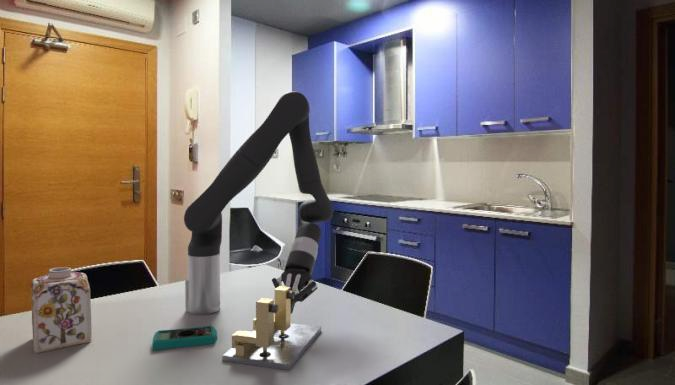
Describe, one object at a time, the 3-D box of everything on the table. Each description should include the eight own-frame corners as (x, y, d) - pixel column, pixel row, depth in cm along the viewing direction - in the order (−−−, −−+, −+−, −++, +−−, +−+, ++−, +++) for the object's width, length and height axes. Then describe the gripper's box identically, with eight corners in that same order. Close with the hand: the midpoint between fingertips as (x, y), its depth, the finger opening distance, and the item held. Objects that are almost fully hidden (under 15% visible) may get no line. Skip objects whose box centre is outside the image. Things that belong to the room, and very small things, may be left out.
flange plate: (222, 360, 95) (222, 355, 95) (265, 324, 117) (265, 320, 117) (289, 370, 91) (289, 364, 91) (321, 331, 113) (321, 326, 113)
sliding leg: (253, 334, 106) (252, 287, 105) (258, 330, 109) (258, 284, 108) (291, 339, 103) (291, 290, 102) (295, 334, 106) (295, 287, 105)
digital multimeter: (217, 345, 104) (217, 334, 104) (151, 353, 100) (151, 340, 99) (216, 334, 111) (216, 323, 111) (154, 341, 107) (154, 329, 106)
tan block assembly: (229, 355, 95) (229, 300, 94) (270, 321, 116) (270, 277, 115) (272, 361, 92) (272, 305, 92) (305, 325, 113) (306, 279, 113)
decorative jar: (32, 338, 107) (30, 267, 106) (85, 328, 114) (84, 261, 113) (34, 354, 97) (31, 277, 96) (92, 342, 104) (90, 270, 103)
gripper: (276, 247, 117) (257, 305, 106) (322, 250, 114) (307, 310, 103) (283, 262, 123) (265, 318, 111) (327, 265, 119) (313, 323, 108)
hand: (285, 314), depth 107 cm, fingers closed
